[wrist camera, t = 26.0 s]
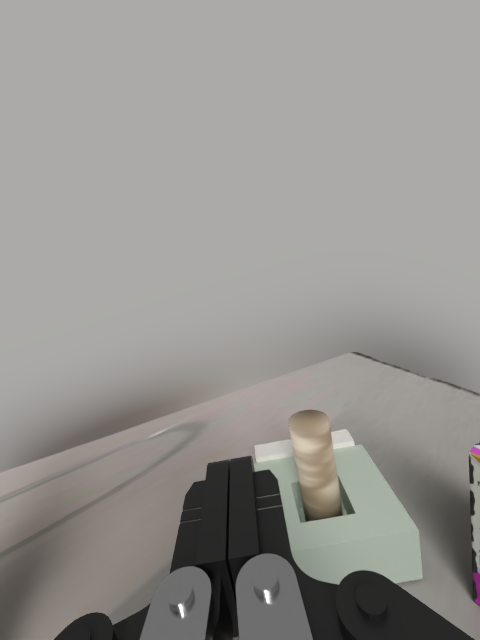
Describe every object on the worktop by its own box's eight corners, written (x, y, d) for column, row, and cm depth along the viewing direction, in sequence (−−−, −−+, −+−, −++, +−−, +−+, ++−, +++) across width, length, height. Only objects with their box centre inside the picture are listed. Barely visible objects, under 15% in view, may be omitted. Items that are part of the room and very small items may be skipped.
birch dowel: (311, 545, 35) (291, 435, 32) (303, 513, 39) (285, 413, 36) (350, 539, 35) (334, 428, 32) (338, 507, 39) (323, 407, 36)
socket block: (266, 604, 32) (256, 557, 31) (257, 499, 46) (249, 463, 44) (422, 578, 32) (418, 529, 30) (365, 480, 45) (361, 444, 44)
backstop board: (264, 499, 46) (255, 458, 44) (262, 485, 49) (254, 445, 47) (359, 483, 45) (353, 440, 44) (351, 469, 48) (346, 429, 47)
